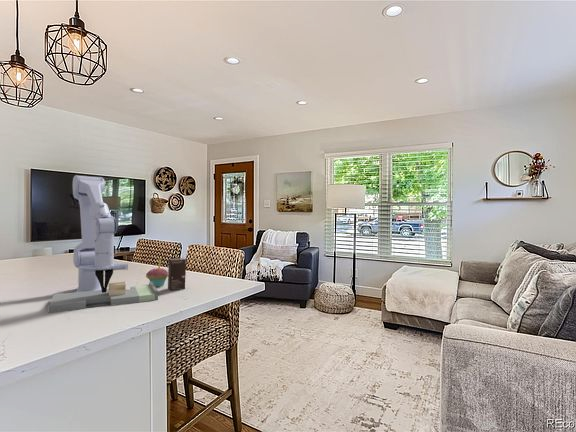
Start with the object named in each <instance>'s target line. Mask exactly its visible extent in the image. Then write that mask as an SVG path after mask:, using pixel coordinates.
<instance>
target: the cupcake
mask: <svg viewBox="0 0 576 432" xmlns="http://www.w3.org/2000/svg"><path fill="white" fill-rule="evenodd" d="M161 263H162V257H160V258H159V259H158V268H153V269H150V270H149V271H147V272H146V273H145V277H146V278H147V279H148V280H149V282H152V283H153V284H154V286H155V287H156V288H159V287H163V286H164V285H165V282H166V279H168V270H166V269H164V268H161Z"/></svg>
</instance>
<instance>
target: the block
mask: <svg viewBox="0 0 576 432" xmlns="http://www.w3.org/2000/svg"><path fill="white" fill-rule="evenodd" d="M108 289H109V296H112V295H122V294H125V290H127V289H126V281H114V282H110V281H109V283H108Z"/></svg>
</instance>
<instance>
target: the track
mask: <svg viewBox="0 0 576 432" xmlns="http://www.w3.org/2000/svg"><path fill="white" fill-rule="evenodd" d="M148 283H149V284H148V285H137V286H130V289H125V294H122V295H112V296H109V288H107V292H104V293H102V290H95V291H84V292H77V291H74V292H65V293H56V294H54V295H53V296H52V299H51V300H50V302H49V304H48V308H47V309H48V313H57V312H65V311H74V310H82V309H89V308H91V309H92V308H100V307H106V306H115V305H116V306H117V305H123V304H132V303H141V302H142V303H144V302H149V301H158V300H159V290H158V289H157V288H158V287H155V286H154V284H153V283H152V282H150V281H149V282H148Z"/></svg>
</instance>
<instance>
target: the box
mask: <svg viewBox="0 0 576 432" xmlns="http://www.w3.org/2000/svg"><path fill="white" fill-rule="evenodd" d="M167 267H168V269H167V272H168V277H167V289H168V290H169V291H175V290H184V289H186V274H187V273H186V271H187V259H185V258H184V257H179V258H178V257H176V258H175V257H174V258H169V259H168V265H167Z"/></svg>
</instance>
